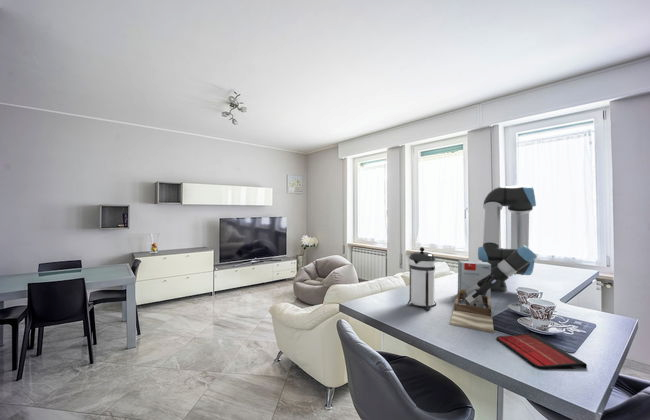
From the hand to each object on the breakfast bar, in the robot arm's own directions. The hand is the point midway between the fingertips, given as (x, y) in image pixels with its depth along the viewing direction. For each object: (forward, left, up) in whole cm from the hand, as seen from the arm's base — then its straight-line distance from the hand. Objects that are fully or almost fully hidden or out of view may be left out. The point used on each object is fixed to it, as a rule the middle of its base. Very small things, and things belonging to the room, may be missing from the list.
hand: (467, 297), depth 140 cm
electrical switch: (0, +2, -5) cm, 5 cm away
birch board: (+21, +2, -5) cm, 22 cm away
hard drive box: (-18, +2, -5) cm, 19 cm away
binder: (+39, +22, -5) cm, 45 cm away
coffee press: (+10, -21, -5) cm, 24 cm away
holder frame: (0, +2, -5) cm, 5 cm away
